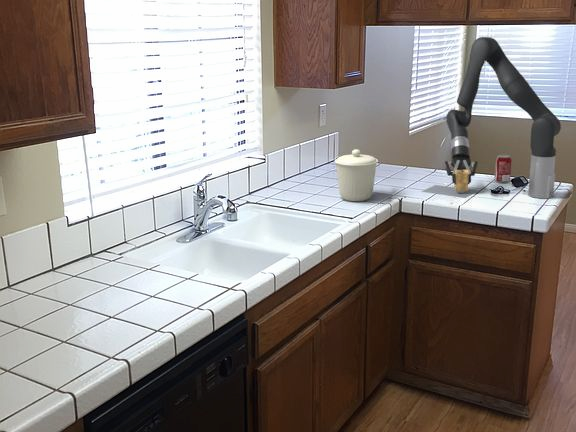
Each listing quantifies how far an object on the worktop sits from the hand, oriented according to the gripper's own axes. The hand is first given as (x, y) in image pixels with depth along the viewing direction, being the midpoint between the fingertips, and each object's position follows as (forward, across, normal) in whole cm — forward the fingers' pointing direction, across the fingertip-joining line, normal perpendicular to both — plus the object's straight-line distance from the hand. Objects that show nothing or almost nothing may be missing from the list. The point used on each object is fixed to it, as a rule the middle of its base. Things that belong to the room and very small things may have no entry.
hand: (461, 183), depth 265 cm
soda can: (-16, +21, +25) cm, 36 cm away
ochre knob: (+1, 0, +4) cm, 4 cm away
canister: (+7, -44, +2) cm, 44 cm away
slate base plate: (+1, -4, +7) cm, 9 cm away
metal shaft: (+2, 0, +5) cm, 5 cm away
